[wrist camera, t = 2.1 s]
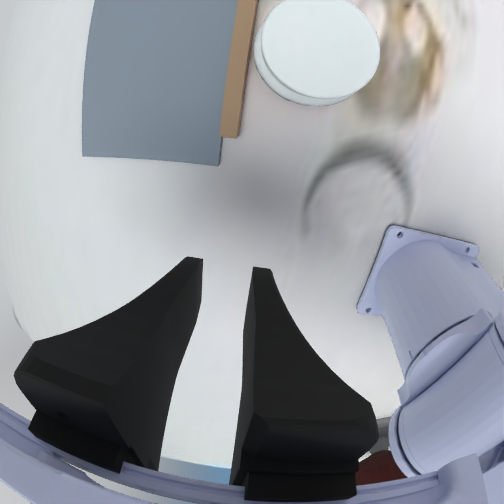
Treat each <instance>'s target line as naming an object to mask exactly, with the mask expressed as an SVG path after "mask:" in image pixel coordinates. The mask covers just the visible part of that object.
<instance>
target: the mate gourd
mask: <svg viewBox="0 0 504 504" xmlns="http://www.w3.org/2000/svg"><path fill="white" fill-rule="evenodd" d="M390 420H391V417H387V418H382V419H378V420H376V421H377V425H378V431H379V439H378V441H377V443H376V444H375V445H374V446H373V447H372V448H371V449H370V450H369V451H370V453H371V454H372V455H371V456H369V457H368V458H366V459H364V460H362V461H361V462H359V471H358V472H355V476H356V486H359V485H368V484H375V483H382V482H388V481H393V480H399V479H404V478H408V477H407V476H406V475H405V474H404V473H403V472H402V471H401V470H400V468H399V467H398V465H397V464H396V462H395V460H394V458H393V455H392V452H391V451H389V450H388V447H389V445H390V443H389V424H390Z"/></svg>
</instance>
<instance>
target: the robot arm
mask: <svg viewBox="0 0 504 504" xmlns="http://www.w3.org/2000/svg"><path fill="white" fill-rule="evenodd" d="M399 232H401V234H400V235H399V236H397V234H398V233H399ZM467 247H468V248H467ZM466 248H467V249H466ZM465 249H466V250H465ZM478 253H479V247H478V246H477V245H475V244H471V243H467V242H463V241H460V240H456V239H452V238H447V237H443V236H439V235H435V234H431V233H427V232H422V231H418V230H413V229H409V228H404V227H400V226H395V225H392V226H390V227H389V228H388V229H387V231H386V234H385V237H384V240H383V242H382V245H381V248H380V251H379V253H378V256H377V259H376V261H375V264H374V266H373V269H372V271H371V274H370V276H369V279H368V281H367V284H366V286H365V289H364V291H363V293H362V296H361V298H360V300H359V303H358V305H357V311H358V313H360V314H368V315H378V316H383V318H384V320H385V323H386V326H387V328H388V331H389V334H390V337H391V339H392V342H393V345H394V348H395V351H396V354H397V357H398V360H399V363H400V366H401V369H402V372H403V375H404V379H405V383H404V384H403V386H402V387H401V388H400V389H399V390H398V394H399V398H400V402H401V406H399V407H398V408H397V409H396V410H395V412H394V413H393V415H392V417H391V420H390V424H389V443H390V448H391V452H392V455H393V458H394V460H395V462H396V464H397V465H398V467H399V468H400V470H401V471H402V472H403V473H404V474H405V475H406V476H407V477H408V478H404V479H399V480H393V481H388V482H382V483H375V484H368V485H359V486H356V476H355V472H358V471H359V462H358V459H359V458H360V457H361V456H363V455H364V454H365V453H366V452H367V451H369V450H370V449H371V448H372V447H373V446H374V445H375V444H376V443H377V441H378V439H379V431H378V425H377V421H376V417H375V414H374V411H373V408H372V405H371V403H370V402H369V401H367V400H366V399H365V398H363V397H362V396H361V395H360V394H358V393H357V392H356V391H354V390H353V389H352V388H351V387H349V386H348V385H347V384H346V383H345V382H344V381H343V380H342V379H340V378H339V377H338V376H337V375H336V374H335V373H334V372H333V371H332V370H331V369H330V368H329V367H328V366H327V364H326V363H325V362H324V361H323V360H322V359H321V358H320V357H319V356H318V355H317V353H316V352H315V351H314V349H313V348H312V347H311V346H310V344H309V343H308V342H307V340H306V339H305V337H304V336H303V335H302V333H301V332H300V330H299V328H298V327H297V325H296V324H295V322H294V320H293V318H292V317H291V315H290V313H289V311H288V309H287V307H286V305H285V303H284V301H283V299H282V297H281V295H280V293H279V290H278V288H277V285H276V283H275V280H274V277H273V273H272V271H271V270H270V269H267V268H260V267H253V271H252V277H251V283H250V290H249V296H248V302H247V308H246V315H245V323H244V330H243V372H242V392H241V400H240V408H239V416H238V423H237V431H236V439H235V446H234V453H233V461H232V468H231V475H230V482H229V485H227V484H219V483H213V482H206V481H200V480H195V479H189V478H184V477H179V476H175V475H171V474H166V473H162V472H158V468H159V461H160V455H161V448H162V442H163V437H164V431H165V426H166V421H167V416H168V411H169V406H170V402H171V397H172V393H173V389H174V384H175V380H176V377H177V374H178V370H179V367H180V365H181V362H182V359H183V357H184V354H185V351H186V349H187V346H188V343H189V341H190V338H191V335H192V333H193V330H194V327H195V324H196V321H197V317H198V313H199V309H200V304H201V295H202V271H203V259H200V258H194V257H186V258H184V259H183V260H182V261H181V262H180V263H179V264H178V265H176V266H175V267H174V268H173V269H172V270H171V271H170V272H168V273H167V274H166V275H165V276H164V277H162V278H161V279H160V280H159V281H158V282H156V283H155V284H154V285H153V286H151V287H150V288H149V289H147V290H146V291H145V292H143V293H142V294H141V295H139V296H138V297H136V298H135V299H134V300H132V301H131V302H129V303H127V304H126V305H124V306H122V307H121V308H119V309H117V310H116V311H114V312H112V313H110V314H108V315H106V316H104V317H102V318H100V319H98V320H96V321H94V322H91V323H89V324H87V325H84V326H82V327H80V328H77V329H74V330H72V331H69V332H66V333H63V334H60V335H56V336H53V337H49V338H46V339H42V340H38V341H35V342H34V343H33V344H32V346H31V347H30V349H29V350H28V352H27V353H26V355H25V356H24V358H23V359H22V361H21V363H20V364H19V366H18V367H17V369H16V371H15V373H14V377H15V381H16V384H17V385H18V387H19V388H20V390H21V391H22V393H23V394H24V395H25V397H26V398H27V399H28V400H29V402H30V403H31V404H32V405H33V407H34V408H35V409H36V413H35V414H34V416H33V419H32V421H30V420H28V419H26V418H24V417H23V416H21V415H19V414H17V413H15V412H14V411H12V410H11V409H9V408H8V407H6V406H4V405H3V404H1V403H0V480H1V481H2V482H3V483H4V484H6V485H7V486H8V487H10V488H11V489H13V490H14V491H15V492H17V493H18V494H19V495H21V496H22V497H24V498H25V499H27V500H28V501H30V502H31V503H30V504H156V503H152V502H148V501H145V500H141V499H138V498H135V497H131V496H128V495H125V494H122V493H118V492H115V491H113V490H109V489H107V488H105V487H103V486H101V485H100V484H98V483H96V482H95V481H93V480H92V479H90V478H89V477H88V476H87V475H86V474H85V472H83V471H81V470H79V469H76V468H75V467H73V466H71V465H69V464H72V465H74V466H76V467H78V468H81V469H83V470H85V471H88V472H90V473H93V474H95V475H98V476H100V477H103V478H105V479H108V480H111V481H114V482H117V483H119V484H122V485H125V486H128V487H132V488H135V489H139V490H142V491H145V492H149V493H152V494H156V495H160V496H164V497H168V498H173V499H177V500H182V501H187V502H192V503H197V504H504V292H503V291H502V289H501V288H500V287H499V286H498V284H497V283H496V282H495V281H494V279H493V278H492V277H491V276H490V275H489V273H488V272H487V271H486V270H485V269H484V268H483V266H482V265H481V264H480V263H479V262H478V261H477V260H476V257H477V255H478ZM367 308H369V309H367ZM366 309H367V310H366ZM62 460H63V461H62ZM64 461H65V462H64ZM66 462H67V463H66ZM68 463H69V464H68Z"/></svg>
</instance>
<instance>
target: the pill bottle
mask: <svg viewBox="0 0 504 504" xmlns="http://www.w3.org/2000/svg"><path fill="white" fill-rule="evenodd" d="M254 58H255V59H254V61H255V64H256V68H257V70H258V72H259V74H260V75H261V77H262V79H263V80H264V81H265V82H266V84H267V85H268V86H269V87H270V88H271V89H272V90H273V91H274V92H276V93H277V94H278V95H280V96H281V97H283V98H285V99H287V100H289V101H292V102H294V103H298V104H303V105H308V106H327V105H332V104H336V103H339V102H341V101H343V100H345V99H347V98H349V97H350V96H352V95H353V94H354V93H355V92H356V91H358V90H360V89H361V88H362V87H364V86H365V85H366V84H367V83H368V82H369V81H370V80H371V78H372V77H373V75H374V74H375V72H376V69H377V67H378V64H379V59H380V44H379V39H378V36H377V33H376V31H375V29H374V27H373V25H372V23H371V22H370V20H369V19H368V18H367V17H366V15H365V14H364V13H363V12H362V11H361V10H360V9H358V8H357V7H356V6H354V5H353V4H351V3H350V2H348V1H346V0H284V1H282V2H281V3H280V4H278V5H277V6H276V7H275V8H274V9H273V10H272V11H271V12H270V14H269V15H268V17H267V18H266V20H265V21H264V22H263V23H262V25H261V26H260V28H259V30H258V32H257V35H256V38H255V42H254Z"/></svg>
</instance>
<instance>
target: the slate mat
mask: <svg viewBox="0 0 504 504" xmlns="http://www.w3.org/2000/svg"><path fill="white" fill-rule="evenodd" d="M257 6H258V0H95V2H94V7H93V12H92V18H91V24H90V30H89V36H88V44H87V51H86V60H85V71H84V84H83V103H82V155H83V156H87V157H116V158H134V159H150V160H163V161H174V162H185V163H195V164H204V165H213V166H218V165H219V162H220V153H221V144H222V137H229V138H237V137H238V136H239V129H240V122H241V114H242V107H243V99H244V92H245V85H246V78H247V71H248V64H249V57H250V51H251V44H252V38H253V31H254V25H255V19H256V12H257Z"/></svg>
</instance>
